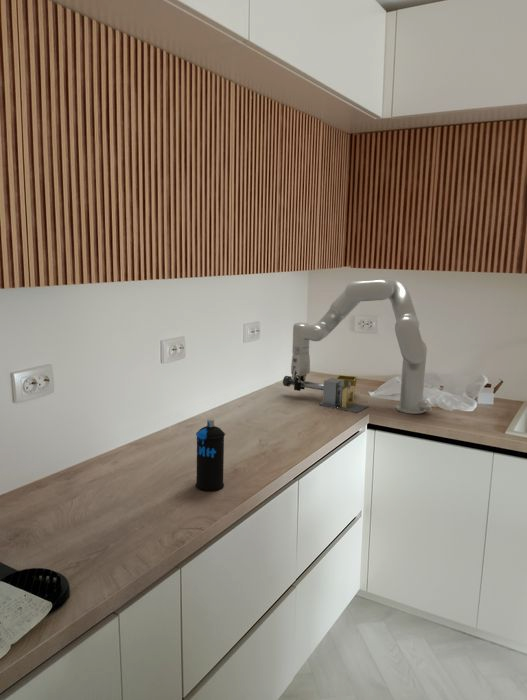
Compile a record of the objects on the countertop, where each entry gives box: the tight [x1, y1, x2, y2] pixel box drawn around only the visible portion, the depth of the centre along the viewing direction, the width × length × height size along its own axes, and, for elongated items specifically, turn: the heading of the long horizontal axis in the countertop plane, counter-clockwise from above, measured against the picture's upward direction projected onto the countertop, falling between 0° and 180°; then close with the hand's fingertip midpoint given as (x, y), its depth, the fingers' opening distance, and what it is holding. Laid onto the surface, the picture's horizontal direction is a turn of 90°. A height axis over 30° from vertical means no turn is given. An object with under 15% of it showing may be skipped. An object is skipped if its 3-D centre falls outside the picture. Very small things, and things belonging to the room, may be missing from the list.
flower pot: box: [336, 374, 358, 388], centre depth 277 cm, size 9×9×9 cm
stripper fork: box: [340, 382, 351, 408], centre depth 258 cm, size 1×9×10 cm, turn 147°
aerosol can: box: [195, 418, 226, 492], centre depth 169 cm, size 8×8×20 cm
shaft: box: [282, 375, 341, 393], centre depth 267 cm, size 28×5×5 cm, turn 57°
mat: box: [335, 403, 370, 414], centre depth 257 cm, size 10×12×1 cm
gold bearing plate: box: [342, 386, 356, 409], centre depth 258 cm, size 2×8×8 cm, turn 147°
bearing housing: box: [318, 377, 344, 409], centre depth 261 cm, size 8×11×11 cm
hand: (299, 389), depth 271 cm, fingers closed on shaft, 2 cm apart
